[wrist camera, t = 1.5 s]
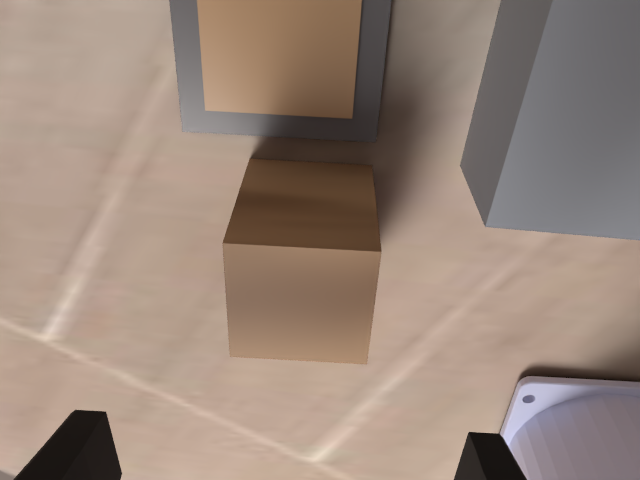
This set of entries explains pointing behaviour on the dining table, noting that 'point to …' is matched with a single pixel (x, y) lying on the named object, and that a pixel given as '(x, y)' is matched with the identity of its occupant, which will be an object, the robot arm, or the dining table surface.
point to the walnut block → (302, 262)
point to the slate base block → (559, 120)
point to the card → (281, 66)
